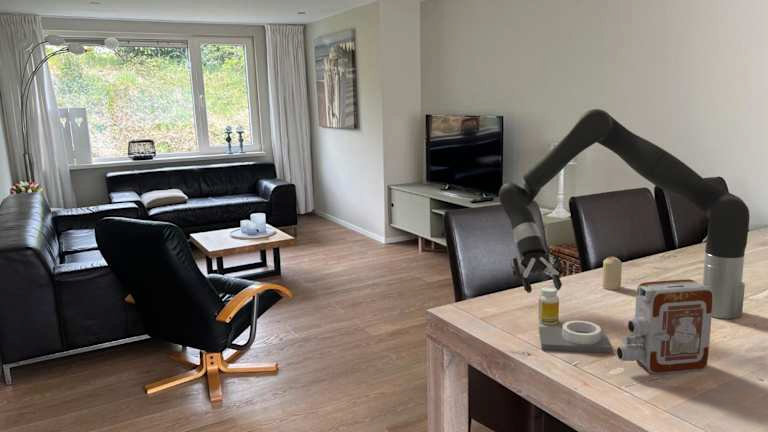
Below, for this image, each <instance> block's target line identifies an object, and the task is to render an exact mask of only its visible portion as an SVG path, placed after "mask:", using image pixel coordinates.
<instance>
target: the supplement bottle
mask: <svg viewBox="0 0 768 432" xmlns="http://www.w3.org/2000/svg"><path fill="white" fill-rule="evenodd" d="M557 293H558V290H557V289H556V288H555V286H554V287H553V286H543V287H542V288H541V294H540V295H539V297H538V318H537V319H538V322H539V323H541V324H543V325H547V326H553V325H556V324H558V322H559V318H560V317H559V316H560V315H559V314H560V309H559V308H560V298H559V296H558V295H557Z"/></svg>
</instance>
